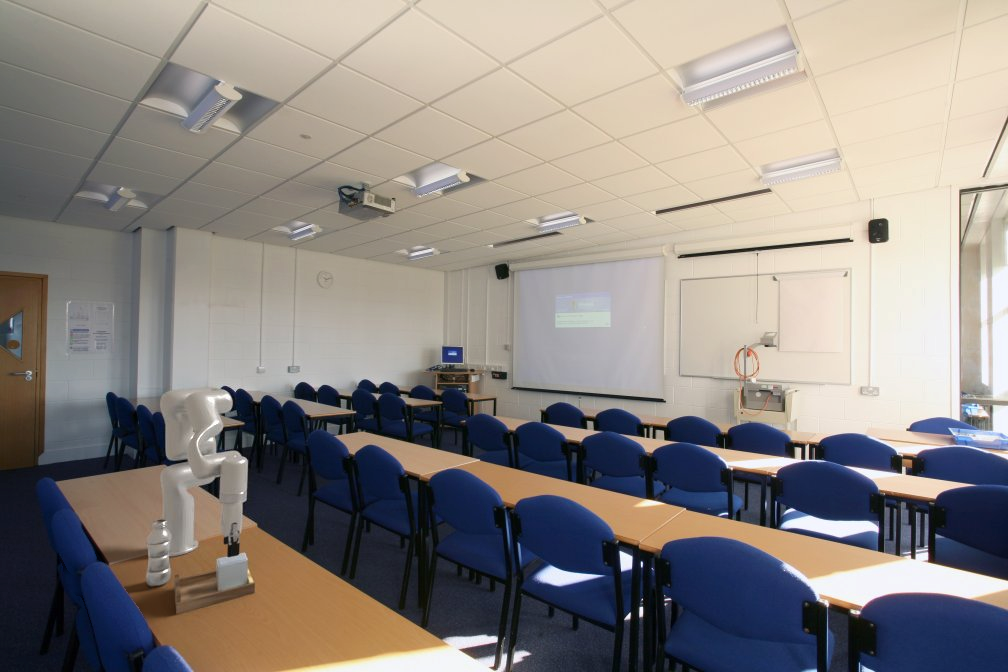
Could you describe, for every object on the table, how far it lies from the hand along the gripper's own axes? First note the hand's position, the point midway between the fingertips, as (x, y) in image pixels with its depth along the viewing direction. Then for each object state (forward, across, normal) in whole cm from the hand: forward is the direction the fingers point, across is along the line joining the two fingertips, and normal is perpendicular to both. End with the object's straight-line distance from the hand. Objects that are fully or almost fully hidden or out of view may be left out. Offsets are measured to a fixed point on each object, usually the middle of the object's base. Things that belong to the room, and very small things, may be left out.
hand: (231, 549), depth 150 cm
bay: (+12, +1, -4) cm, 12 cm away
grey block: (+10, +1, 0) cm, 10 cm away
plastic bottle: (+13, -14, -18) cm, 26 cm away
